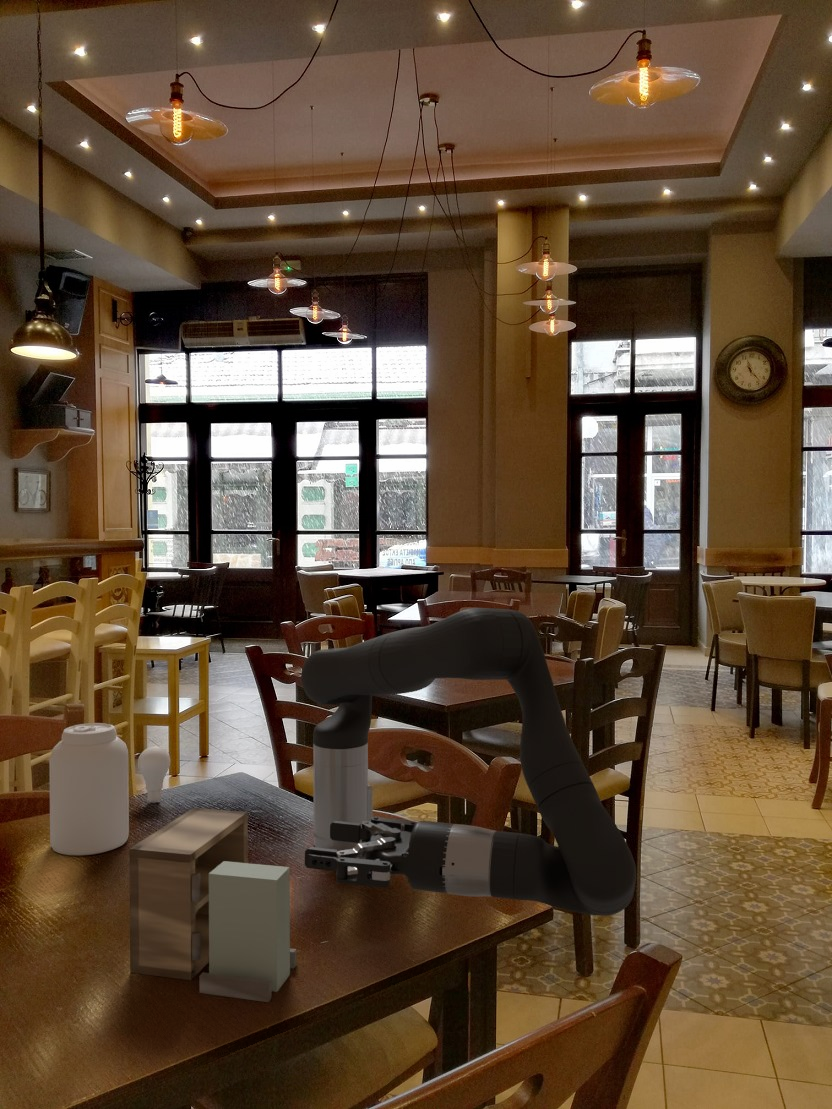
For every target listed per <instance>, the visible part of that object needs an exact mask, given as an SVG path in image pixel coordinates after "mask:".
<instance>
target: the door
mask: <svg viewBox="0 0 832 1109" xmlns="http://www.w3.org/2000/svg"><path fill="white" fill-rule="evenodd" d="M290 867H291V866H280V865H271V864H270V865H269V864H260V863H249V862H248V863H239V862H228V861H223V862H222V863H221V864H220V865H218V866H217V867H216V868H215V869H214V870H212V871H211V872H210V873H209V962H208V965H209V966H208V973H212V974H220V975H228V976H235V977H243V978H251V979H258V980H266V981H271V992H275V993H278V991H280V989H281V987H282V986H283V985H284V983H285V982H286V981H287V979H288V978H289V976H290V975H291V968H290V948H291V941H290V940H291V934H290V933H291V932H290V931H291V925H290V924H291V922H290V920H291V919H290V918H291V915H290V914H291V905H290V904H291V901H290V900H291V897H290V896H291V895H290V894H291V892H290V891H291V890H290V889H291V888H290V886H291V885H290V884H291V882H290V881H291V880H290V878H291V876H290V875H291V874H290V872H291V871H290V869H291V868H290Z"/></svg>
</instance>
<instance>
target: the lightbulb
mask: <svg viewBox="0 0 832 1109" xmlns="http://www.w3.org/2000/svg"><path fill="white" fill-rule="evenodd" d="M137 767H138V771H139V772H140V774H141V775H142V777H143V780H144V783H145V790H146V794H147V795H146V796H147V800H148V801H149V802H151V803H152V804H156V803H158V802H159V801H160V800H161V799H162V789H163V787H164V781H165V780H164V779H165V777H166V774H167V773H168V771H169V770H170V769H169V768H170V767H171V756H170V754H169V753H168V752H167V750H166V749H164V748H163V747H160V746H150V747H147V748H146V749H144V750H143V751H142V752H141V753H140V755H139V756H138V759H137Z"/></svg>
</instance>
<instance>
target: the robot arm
mask: <svg viewBox="0 0 832 1109" xmlns="http://www.w3.org/2000/svg"><path fill="white" fill-rule="evenodd" d="M437 679H465V680H473V681H474V680H475V681H488V680H489V681H493V680H494V681H495V680H496V681H497V680H499V681H501V680H505V681H507V682H508V684H509V685H510V686H511V688H512V689H513V691H514V693H515V695H516V697H517V699H518V702H519V704H520V705H519V706H520V709H521V713H522V714H521V717H522V719H521V721H522V723H521V733H520V744H519V759H520V766H521V770H522V774H523V778H524V780H525V782H526V785H527V788H528V790H529V792H530V794H531V796H532V798H533V801H534V803H535V806H536V807H537V810H538V812H539V815H540V816H541V818H542V819H541V820H543V822H544V824H545V825H546V827H547V828H548V829H549V830H550V831H551V832H552V834H553V836H554V839H555V841H556V844H557V846H556V845H552V844H549V843H547V842H546V841H545V840H544V839H542V837H539V836H535V835H532V834H528V833H521V832H510V831H501V830H495V829H489V828H486V827H485V828H484V827H481V826H476V825H468V824H458V823H450V822H441V821H440V822H439V821H430V820H418V821H413V820H412V821H411V820H405V819H397V818H391V817H390V818H389V817H381V816H373V813H374V812H373V809H374V808H373V801H374V800H373V799H374V798H373V797H374V795H373V794H374V793H373V789H374V788H373V786H372V784H369V777H368V776H369V759H368V757H369V755H368V754H369V751H368V750H369V749H368V748H369V743H368V742H369V732H370V729H371V724H372V707H373V706H372V705H373V696H389V695H401V694H407V693H413V692H414V693H415V692H417V691H420V690H424V689H426V688H428V687H429V686H430V685H431V684H432V683H434V681H435V680H437ZM300 681H301V682H300V683H301V686H302V689H303V691H304V693H305V695H306V696H307V697H308V698H309V699H310V701H313V702H314V703H316V704H319V705H323V706H324V705H326V706H327V705H329V706H330V705H336V704H339V706H338V707H337V709H336V710H335V711H334V713H333V714H332V715H330V716H329V717H328V718H327V717H326V718H325V719H324V720H323V721H321V722H319V723H318V724H316V725H315V726H314V729H313V735H312V736H313V738H312V739H313V742H312V743H313V744H312V747H313V749H312V750H313V757H312V758H313V760H312V761H313V845H314V846H309V847H308V848H306V849H305V851H304V866H305V867H306V868H307V869H311V870H320V871H327V872H328V871H329V872H335V873H336V875H335V876H336V883H338V884H341V885H352V886H353V885H355V886H365V887H375V888H383V889H384V888H389V887H390V886H391V877H392V875H393V876H395V875H404V876H406V878H407V882H408V885H409V887H410V888H411V889H413V890H417V891H423V892H425V891H426V892H433V893H440V894H441V893H442V894H446V895H449V894H450V895H456V896H463V897H493V898H501V899H507V900H508V899H509V900H518V901H531V902H537V903H541V904H545V905H547V906H552V907H555V908H558V909H563V910H566V911H570V912H575V913H579V914H583V915H584V914H585V915H589V916H597V917H598V916H601V917H605V916H612V915H616V914H618V913H620V912H622V911H624V910H625V909H626V908H627V907H628V906H629V905H630V903H631V902H632V900H633V897H634V894H635V888H636V882H637V881H636V879H637V867H636V863H635V860H634V859H635V858H634V856H633V854H632V852H631V849H630V847H629V845H628V843H627V841H626V839H625V838H624V836H623V834H622V832H621V831H620V829H619V828H618V826H617V824H616V823H615V822H614V820H613V818H612V816H611V815H610V813H609V812H608V810H607V809H606V807H605V806H604V805H603V803H602V801H601V799H600V796H599V793H598V791H597V789H596V786H595V784H594V782H593V780H592V778H591V776H590V775H589V772H588V770H587V769H586V766H585V764H584V762H583V760H582V758H581V756H580V754H579V752H578V750H577V748H576V745H575V744H574V741H573V739H572V736H571V734H570V731H569V728H568V727H567V724H566V721H565V719H564V715H563V710H562V709H561V705H560V703H559V702H560V701H559V698H558V695H557V691H556V688H555V686H554V681H553V678H552V675H551V672H550V670H549V666H548V663H547V659H546V656H545V653H544V650H543V646H542V642H541V640H540V638H539V635H538V632H537V630H536V628H535V626H534V624H533V623H532V620H530V618H529V617H528V616H526V615H525V613H523V612H522V611H518V610H516V609H515V610H514V609H509V608H507V609H506V608H486V607H473V608H466V609H462V610H460V611H457V612H455V613H453V614H450V615H448V616H446V617H445V618H443V619H441V620H438V621H436V622H434V623H432V624H429V625H426V626H417V627H416V626H415V627H410V628H404V629H401V630H396V631H392V632H388V633H384V634H382V635H379V636H376V637H374V638H373V637H372V638H370V639H368V640H365V641H362V642H359V643H356V644H354V645H352V646H351V645H350V646H349V647H340V648H339V647H335V648H327V649H319V650H316V651H314V652H313V653H311V654H310V655H309V656H308V657H307V658H306V659H305V661H304V663H303V665H302V669H301V675H300Z"/></svg>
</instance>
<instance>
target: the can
mask: <svg viewBox="0 0 832 1109" xmlns="http://www.w3.org/2000/svg"><path fill="white" fill-rule="evenodd" d="M48 759H49V764H48V765H49V837H50V838H49V841H50V842H49V845H50V846H51V848H52V850H53V851H54V852H56V853H58V854H61V855H65V856H91V855H96V854H102V853H105V852H109V851H112V850H114V849H117V848H119V847H121V846H123V845H124V844H125V843H127V841H128V838H129V835H130V823H129V822H130V821H129V820H130V819H129V818H130V815H129V814H130V811H129V810H130V808H129V805H130V804H129V800H130V799H129V750H128V747H127V744H126V742H125V741H123V740H122V739H121V738H120V737H119V736H117V729H116V727H115V726H114V725H113V724H109V723H105V722H104V723H103V722H91V723H90V722H89V723H79V724H74V725H71V726H69V727H68V726H67V727H66V728H64V729H63V732H62V733H61V740H59V742H58V743H57V744H56V745H55V746H53V748H52V749H51V753H50V756H49V758H48Z"/></svg>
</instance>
